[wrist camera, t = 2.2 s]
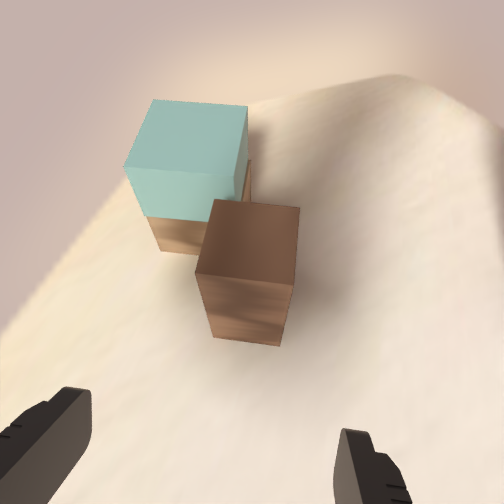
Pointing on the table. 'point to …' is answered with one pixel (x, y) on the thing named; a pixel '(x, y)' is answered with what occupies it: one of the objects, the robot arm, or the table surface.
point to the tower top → (188, 158)
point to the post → (248, 269)
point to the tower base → (188, 227)
